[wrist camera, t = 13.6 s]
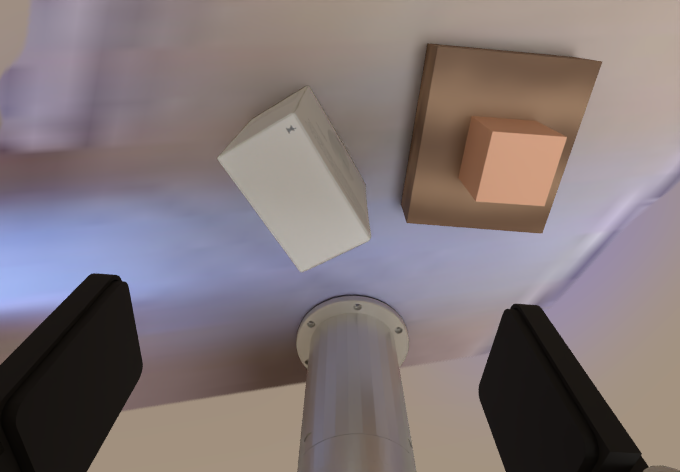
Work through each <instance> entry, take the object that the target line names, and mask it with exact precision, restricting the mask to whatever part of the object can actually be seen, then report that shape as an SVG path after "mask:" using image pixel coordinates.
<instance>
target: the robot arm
mask: <svg viewBox="0 0 680 472" xmlns="http://www.w3.org/2000/svg"><path fill="white" fill-rule="evenodd" d="M296 348H297V353H298V356H299V358H300V360H301V362H302V363H303V365H304V366H305V367H306V369H307V379H306V389H305V400H304V410H303V420H302V431H301V440H300V450H299V460H298V471H297V472H416V466H415V460H414V454H413V448H412V442H411V436H410V430H409V424H408V418H407V412H406V406H405V399H404V393H403V387H402V381H401V375H400V369H399V367H400V366H401V365H402V363H403V361H404V360H405V358H406V355H407V352H408V349H409V338H408V332H407V329H406V325H405V323H404V322H403V320H402V318H401V317H400V316H399V314H398V313H397V312H396V311H395V310H394V309H392V308H391V307H389V306H388V305H387V304H385V303H383V302H380V301H378V300H376V299H372V298H368V297H363V296H343V297H338V298H333V299H330V300H328V301H325V302H323V303H321V304H319V305H318V306H316V307H314V308H313V309H312V310H311V311H310V312H309V313H308V314H307V315H306V316H305V318H304V319H303V320H302V322H301V324H300V326H299V329H298V333H297V340H296ZM142 367H143V363H142V357H141V352H140V346H139V341H138V335H137V330H136V325H135V319H134V314H133V308H132V303H131V297H130V292H129V287H128V284H127V283H126V282H123V281H122V280H121V278H120V277H119V276H118V275H109V274H95V273H94V274H91V275H89V276H88V277H87V278H86V279H85V280H84V281H83V282H82V283H81V284H80V285H79V286H78V287H77V288H76V289H75V290H74V291H73V292H72V293H71V294H70V295H69V296H68V297H67V298H66V299H65V300H64V301H63V302H62V303H61V304H60V305H59V306H58V307H57V308H56V309H55V310H54V311H53V312H52V313H51V314H50V315H49V316H48V317H47V318H46V319H45V320H44V321H43V322H42V323H41V324H40V325H39V326H38V327H37V328H36V329H35V331H34V332H33V333H32V334H31V335H30V336H29V337H28V338H27V339H26V340H25V341H24V342H23V343H22V344H21V345H20V346H19V347H18V348H17V349H16V350H15V351H14V352H13V353H12V354H11V355H10V356H9V357H8V358H7V359H6V360H5V361H4V362H3V363H2V364H1V365H0V472H87V470H88V469H89V467H90V465H91V463H92V461H93V460H94V458H95V456H96V455H97V453H98V451H99V449H100V447H101V446H102V444H103V442H104V440H105V439H106V437H107V435H108V433H109V431H110V430H111V428H112V426H113V424H114V422H115V421H116V419H117V417H118V416H119V413H120V412H121V410H122V408H123V407H124V405H125V403H126V401H127V400H128V398H129V396H130V394H131V392H132V391H133V389H134V387H135V385H136V384H137V382H138V380H139V378H140V376H141V373H142ZM479 398H480V402H481V404H482V407H483V410H484V413H485V415H486V418H487V421H488V424H489V426H490V429H491V432H492V435H493V438H494V440H495V443H496V446H497V449H498V451H499V454H500V457H501V460H502V462H503V465H504V468H505V471H506V472H680V471H679V470H677V469H674V468H670V467H666V466H650V467H648V465H647V464H646V462H645V461H644V459H643V458H642V456H641V454H642V453H641V452H640V451H639V449H638V448H637V446H636V445H635V443H634V442H633V440H632V439H631V437H630V436H629V434H628V433H627V432H626V430H625V429H624V427H623V426H622V424H621V423H620V421H619V420H618V419H617V417H616V416H615V414H614V413H613V411H612V410H611V408H610V407H609V406H608V404H607V403H606V401H605V400H604V398H603V397H602V395H601V394H600V392H599V391H598V390H597V388H596V387H595V385H594V384H593V382H592V381H591V379H590V378H589V377H588V375H587V374H586V372H585V371H584V369H583V368H582V366H581V365H580V363H579V362H578V361H577V359H576V358H575V356H574V355H573V353H572V352H571V350H570V349H569V348H568V346H567V345H566V344H565V342H564V340H563V339H562V338H561V336H560V335H559V333H558V332H557V330H556V329H555V327H554V326H553V324H552V323H551V322H550V320H549V319H548V317H547V316H546V314H545V313H544V311H543V310H542V309H541V308H540V306H537V305H526V304H513V305H512V306H511V308H510V309H506V310H505V311H504V313H503V315H502V318H501V321H500V324H499V327H498V330H497V333H496V336H495V339H494V342H493V345H492V348H491V351H490V354H489V357H488V360H487V363H486V366H485V369H484V372H483V375H482V378H481V381H480V384H479Z"/></svg>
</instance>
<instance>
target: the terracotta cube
mask: <svg viewBox="0 0 680 472" xmlns="http://www.w3.org/2000/svg"><path fill="white" fill-rule="evenodd" d="M566 139H567V137H566V136H564V135H562V134H560V133H558V132H557V131H555V130H553V129H551V128H549V127H547V126H545V125H543V124H541V123H539V122H537V121H533V120H520V119H506V118H493V117H480V116H472V117H471V121H470V126H469V130H468V135H467V140H466V144H465V149H464V154H463V158H462V163H461V168H460V172H459V177H458V178H459V179H460V181H461V182H462V184H463V185H464V186H465V188H466V189H467V190H468V192H469V193H470V194H471V196H472V197H473V198H474V200H475V201H476V202H490V203H504V204H519V205H533V206H545V203H546V200H547V197H548V194H549V191H550V188H551V185H552V182H553V179H554V176H555V173H556V170H557V167H558V164H559V160H560V157H561V154H562V151H563V148H564V145H565V142H566Z"/></svg>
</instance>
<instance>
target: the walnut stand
mask: <svg viewBox="0 0 680 472" xmlns="http://www.w3.org/2000/svg"><path fill="white" fill-rule="evenodd" d="M601 64H602V62H601V61H595V60H588V59H582V58H576V57H567V56H556V55H545V54H534V53H524V52H513V51H502V50H492V49H481V48H470V47H460V46H449V45H438V44H428V45H427V51H426V57H425V63H424V69H423V75H422V81H421V87H420V93H419V99H418V105H417V111H416V117H415V123H414V129H413V135H412V141H411V147H410V153H409V159H408V165H407V171H406V178H405V184H404V190H403V196H402V202H401V206H402V209H403V212H404V216H405V219H406V222H407V223H414V224H427V225H440V226H453V227H466V228H479V229H491V230H504V231H517V232H530V233H543V230H544V227H545V224H546V221H547V218H548V215H549V213H550V210H551V207H552V204H553V201H554V198H555V195H556V193H557V190H558V187H559V184H560V181H561V178H562V175H563V173H564V170H565V167H566V164H567V161H568V158H569V155H570V153H571V150H572V147H573V144H574V141H575V138H576V135H577V132H578V130H579V127H580V124H581V121H582V118H583V115H584V112H585V110H586V107H587V104H588V101H589V98H590V95H591V92H592V90H593V87H594V84H595V81H596V78H597V75H598V72H599V69H600V67H601ZM472 116H480V117H493V118H506V119H520V120H533V121H537V122H539V123H541V124H543V125H545V126H547V127H549V128H551V129H553V130H555V131H557V132H558V133H560V134H562V135H564V136H566V137H567V139H566V142H565V145H564V148H563V151H562V154H561V157H560V160H559V164H558V167H557V170H556V173H555V176H554V179H553V182H552V185H551V188H550V191H549V194H548V197H547V200H546V203H545V206H533V205H519V204H504V203H490V202H476V201H475V200H474V198H473V197H472V196H471V194H470V193H469V192H468V190H467V189H466V188H465V186H464V185H463V184H462V182H461V181H460V179H459V178H458V177H459V172H460V168H461V163H462V158H463V154H464V149H465V144H466V140H467V135H468V130H469V126H470V121H471V117H472Z"/></svg>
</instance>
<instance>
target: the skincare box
mask: <svg viewBox="0 0 680 472" xmlns="http://www.w3.org/2000/svg"><path fill="white" fill-rule="evenodd" d="M217 159H218V161H219V162H220V164H221V165H222V166H223V168H224V169H225V170H226V172H227V173H228V174H229V176H230V177H231V178H232V180H233V181H234V183H235V184H236V185H237V187H238V188H239V189H240V191H241V192H242V194H243V195H244V196H245V197H246V199H247V200H248V202H249V203H250V204H251V206H252V207H253V208H254V210H255V211H256V213H257V214H258V215H259V217H260V218H261V219H262V221H263V222H264V224H265V225H266V226H267V228H268V229H269V230H270V232H271V233H272V234H273V236H274V237H275V239H276V240H277V241H278V243H279V244H280V245H281V247H282V248H283V249H284V251H285V252H286V253H287V255H288V256H289V258H290V259H291V260H292V262H293V263H294V264H295V266H296V267H297V269H298V270H299V271H300V272H304V271H306V270H309V269H311V268H313V267H315V266H317V265H319V264H322V263H324V262H326V261H328V260H330V259H332V258H334V257H336V256H338V255H340V254H343V253H345V252H347V251H349V250H351V249H353V248H355V247H357V246H359V245H361V244H363V243H366V242H368V241H369V240H370V238H371V232H370V226H369V219H368V210H367V200H366V184H365V183H364V181H363V179H362V177H361V175H360V173H359V172H358V170H357V168H356V166H355V164H354V163H353V161H352V159H351V157H350V156H349V154H348V152H347V150H346V149H345V147H344V145H343V144H342V142H341V140H340V138H339V137H338V135H337V133H336V131H335V130H334V128H333V126H332V124H331V123H330V121H329V119H328V117H327V116H326V114H325V112H324V111H323V109H322V107H321V105H320V104H319V102H318V100H317V99H316V97H315V95H314V94H313V92H312V90H311V88H310V87H309V86H306V87H304V88H302V89H301V90H299V91H297V92H296V93H294V94H292V95H291V96H289V97H287V98H286V99H284V100H283V101H281V102H279V103H278V104H276V105H274V106H273V107H271V108H269V109H268V110H266V111H265V112H263V113H261V114H260V115H258V116H257V117H255V118H253V119H252V120H251V121H250V122H249V123H248V124H247V125H246V126H245V127H244V128H243V130H242V131H241V132H240V133H239V134H238V135H237V136H236V137H235V139H234V140H233V141H232V142H231V143H230V144H229V145H228V146H227V147H226V149H225V150H224V151H223V152H222V153H221V154H220V155H219V156H218V158H217Z"/></svg>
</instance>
